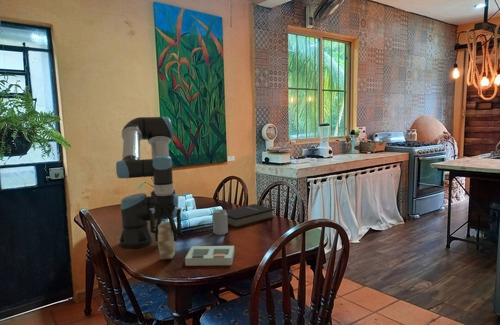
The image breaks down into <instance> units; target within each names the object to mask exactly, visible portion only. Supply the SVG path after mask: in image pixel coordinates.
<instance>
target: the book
mask: <svg viewBox="0 0 500 325" xmlns="http://www.w3.org/2000/svg"><path fill="white" fill-rule="evenodd" d="M225 210H226V209H225ZM274 211H275V209H274V208H271V207H268V206H263V205H260V204H255V203H253V204H249V205H244V206H240V207H236V208H235V207H234V208H231V209H227V210H226V213H227V220H228V226H229V227H232V228H234V229H240V228H243V227H247V226H251V225H254V224H258V223H262V222H265V221H268V220H272V219H275V217H274V216H273V212H274Z"/></svg>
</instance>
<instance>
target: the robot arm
mask: <svg viewBox="0 0 500 325" xmlns="http://www.w3.org/2000/svg"><path fill="white" fill-rule="evenodd" d="M173 129H174V128H173V124H172V120H171V119H170V117H169V116H168V117H167V116H148V117H147V116H144V117H143V116H140V117H135V118H133V119H131V120H129V121H128V122H127V123H126V124H125V125H124V126H123V129H122V130H121V138H122V141H123V144H122V157H121V160H118V161H116V165H115V168H116V169H115V171H116V177H117V178H118V179H134V178H135V179H137V178H150V177H153V179H152V182H153V190H152V191H151V192H150V195H148V196H147V194H146V193H144V192H143V193H135V194H131V195H128V196H125V197H123V198H122V199H121V201H120V210H121V226H122V227H121V228H122V230H121V235H120V237H119V247H120V248H123V249H128V250H129V249H132V250H133V249H139V248H144V247H147V246H149V245H151V244H152V243H153V242H154V240H153V239H154V238H153V234H154V235H155V241H156V242H157V246H158V250H159V235H158V225H160V224H161V222H163V220H168V222H170V224H171V228H172V231H173V233H172V234H171V236H172V250H174V249H175V250H176V246H177V245H176V242H177V240H178V233H181V232H182V216H181V215H182V214H181V213H182V210H183V209H182V207H179V194H178V193H176V190H175V189H174V181H173V179H174V178H173V161H172V157H171V156H170V150H169V144H170V143H171V142H172V139H174V131H173ZM142 140H143V141H144V140H147V142H148V145H150V146H151V147H150V148H151V150H150V151H151V158H148V159H146V158H145V159H141V141H142ZM175 218H176V223H175Z"/></svg>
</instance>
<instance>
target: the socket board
mask: <svg viewBox="0 0 500 325" xmlns="http://www.w3.org/2000/svg"><path fill="white" fill-rule="evenodd" d="M234 256H235V245H192V246H191V247H190V249H189V251H188V252H187V254H186V255H185V258H184V265H185V266H187V267H188V266H190V267H191V266H194V267H195V266H196V267H197V266H232V265H233V262H234V261H233V260H234Z"/></svg>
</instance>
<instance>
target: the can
mask: <svg viewBox="0 0 500 325" xmlns="http://www.w3.org/2000/svg"><path fill="white" fill-rule="evenodd" d="M212 232H213V234H214V235H216V236H224V235H226V234H227V233H228V232H229V227H228V220H227V213H226V209H216V210H213V212H212Z"/></svg>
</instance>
